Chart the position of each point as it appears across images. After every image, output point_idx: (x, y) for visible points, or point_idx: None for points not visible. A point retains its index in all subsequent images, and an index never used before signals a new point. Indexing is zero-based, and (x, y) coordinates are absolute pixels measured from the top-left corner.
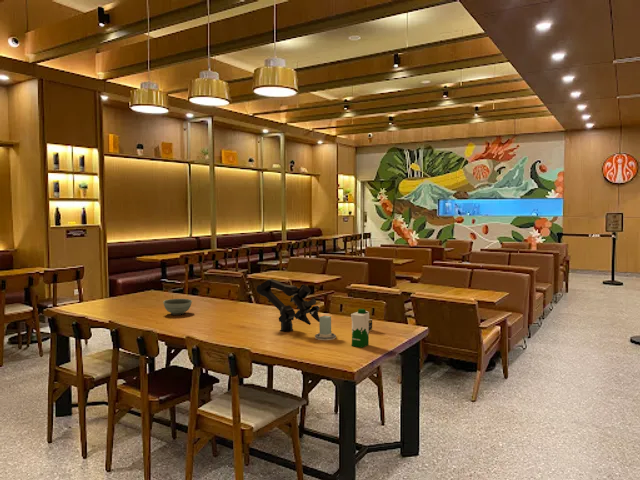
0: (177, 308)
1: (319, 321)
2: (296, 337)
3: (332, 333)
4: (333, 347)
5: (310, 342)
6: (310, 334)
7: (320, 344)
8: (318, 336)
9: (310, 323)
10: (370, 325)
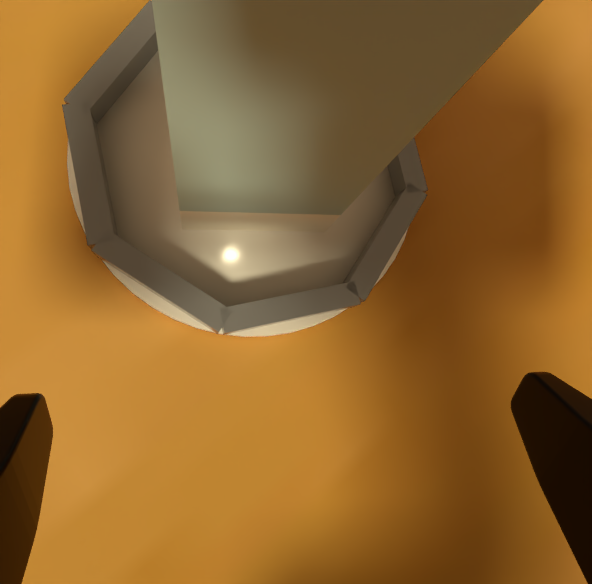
0: None
1: (464, 81)
2: (519, 560)
3: (85, 102)
4: None
5: (573, 200)
6: (230, 515)
7: (558, 44)
8: (308, 266)
9: (551, 376)
10: None
